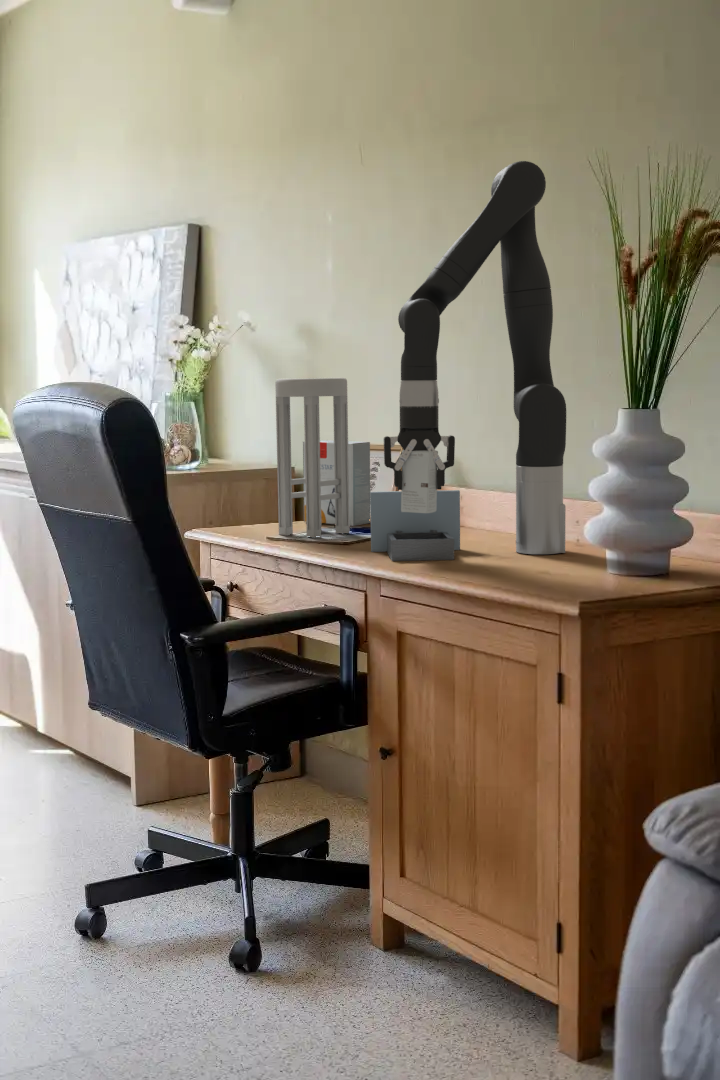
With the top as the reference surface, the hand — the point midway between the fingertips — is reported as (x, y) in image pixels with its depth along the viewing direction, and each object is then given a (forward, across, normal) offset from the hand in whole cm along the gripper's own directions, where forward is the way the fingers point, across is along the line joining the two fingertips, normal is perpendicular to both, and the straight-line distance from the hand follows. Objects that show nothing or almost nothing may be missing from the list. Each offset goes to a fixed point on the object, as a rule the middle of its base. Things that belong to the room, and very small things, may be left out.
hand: (419, 489), depth 254 cm
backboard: (+13, 0, -9) cm, 16 cm away
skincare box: (+5, 0, 0) cm, 5 cm away
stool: (+14, +20, -41) cm, 48 cm away
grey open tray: (+13, 0, -1) cm, 13 cm away
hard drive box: (+14, +14, -63) cm, 66 cm away
